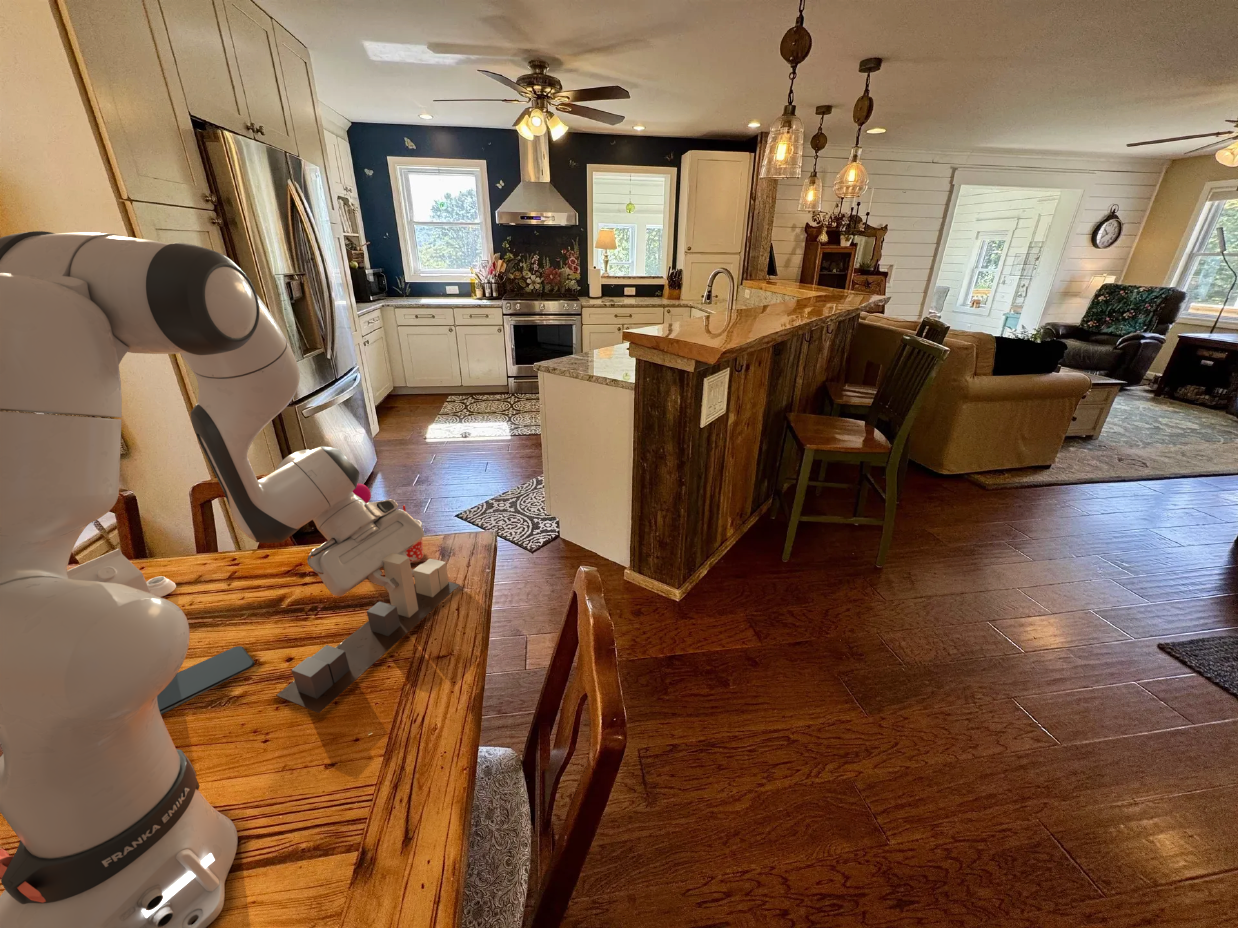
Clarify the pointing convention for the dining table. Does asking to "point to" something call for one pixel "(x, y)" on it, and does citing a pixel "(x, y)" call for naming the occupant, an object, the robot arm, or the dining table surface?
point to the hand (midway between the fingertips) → (402, 582)
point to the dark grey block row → (339, 655)
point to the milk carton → (110, 571)
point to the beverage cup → (415, 547)
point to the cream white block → (430, 577)
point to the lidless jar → (160, 586)
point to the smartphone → (203, 677)
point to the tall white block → (401, 584)
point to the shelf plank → (366, 651)
